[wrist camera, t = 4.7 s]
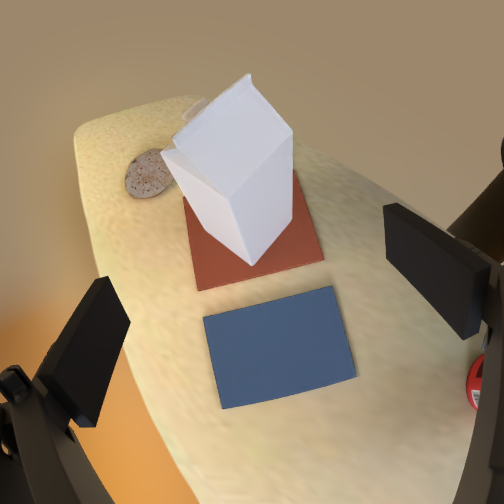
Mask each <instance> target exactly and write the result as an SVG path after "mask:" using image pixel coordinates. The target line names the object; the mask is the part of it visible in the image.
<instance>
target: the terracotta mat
mask: <svg viewBox="0 0 504 504" xmlns="http://www.w3.org/2000/svg"><path fill="white" fill-rule="evenodd" d="M183 201H184V209H185V215H186V222H187V229H188V235H189V242H190V248H191V254H192V260H193V266H194V272H195V278H196V284H197V289H198V291H201V290H206V289H210V288H214V287H218V286H222V285H226V284H230V283H235V282H239V281H243V280H247V279H251V278H255V277H259V276H263V275H267V274H271V273H275V272H279V271H283V270H287V269H291V268H295V267H299V266H303V265H306V264H310V263H314V262H318V261H322V260H324V258H323V254H322V251H321V248H320V245H319V242H318V239H317V236H316V233H315V229H314V226H313V223H312V220H311V217H310V214H309V211H308V208H307V206H306V203H305V200H304V197H303V194H302V191H301V188H300V185H299V182H298V180H297V177H296V174H295V171H294V169H293V197H292V220H291V222H290V223H289V224H288V225H287V227H286V228H285V229H284V230H283V231H282V232H281V234H280V235H279V236H278V237H277V238H276V240H275V241H274V242H273V243H272V244H271V246H270V247H269V248H268V249H267V250H266V251H265V253H264V254H263V255H262V256H261V257H260V259H259V260H258V261H257V262H256V263H255V264H254V265H253V266H251V265H249V264H248V263H247V262H245V261H244V260H243V259H242V258H240V257H239V256H238V255H236V254H235V253H234V252H232V251H231V250H230V249H229V248H227V247H226V246H225V245H223V244H222V243H221V242H220V241H218V240H217V239H216V238H214V237H213V236H212V235H211V234H209V233H208V232H207V231H206V230H205V229H204V228H203V226H202V224H201V223H200V221H199V219H198V218H197V216H196V214H195V213H194V211H193V209H192V207H191V206H190V204H189V202H188V201H187V199H186V197H185V196H184V197H183Z"/></svg>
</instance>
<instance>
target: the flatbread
mask: <svg viewBox="0 0 504 504" xmlns="http://www.w3.org/2000/svg"><path fill="white" fill-rule="evenodd" d="M162 150H163V149H151V150H148V151H146V152H144V153H143V154H141V155H139V156H138V157H136V158H135V159H134V160H133V161H132V162H131V164H130V166H129V168H128V170H127V173H126V177H125V187H126V190H127V191H128V192H129V194H130V196H131V197H132V198H134V199H138V198H148V197H153V196H156V195H158V194H159V193H161V192H162V191H163V190H164V189H165V188H167V187H168V186H169V184H170V183H171V182H172V180H173V179H174V177H173V175H172V174H171V172H170V170H169V168H168V167H167V165H166V163H165V161H164V160H163V158H162V156H161V154H160V152H161V151H162Z"/></svg>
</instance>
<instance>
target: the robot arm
mask: <svg viewBox="0 0 504 504" xmlns="http://www.w3.org/2000/svg"><path fill="white" fill-rule="evenodd" d="M383 214H384V227H385V243H386V259H387V260H388V261H389V262H390V263H391V264H392V265H393V266H394V267H395V268H396V269H397V270H398V271H399V272H400V273H401V274H402V275H403V276H404V277H405V278H406V279H407V280H408V281H409V282H410V283H411V284H412V285H413V286H414V287H415V288H416V289H417V290H418V291H419V292H420V294H421V295H422V296H423V297H424V298H425V299H426V300H427V301H428V302H429V303H430V304H431V305H432V306H433V307H434V309H435V310H436V311H437V312H438V313H439V314H440V315H441V316H442V317H443V318H444V320H445V321H446V322H447V323H448V324H449V325H450V326H451V327H452V329H453V330H454V331H455V332H456V333H457V334H458V335H459V337H460V338H461V339H462V340H465V339H467V338H469V337H471V336H473V335H475V334H477V333H479V329H480V325H481V320H483V321H484V322H485V323H486V324H487V325H488V327H487V330H486V334H485V338H484V341H483V345H482V348H481V349H484V348H485V353H484V365H483V374H482V383H481V390H480V397H479V403H478V409H477V415H476V420H475V425H474V430H473V435H472V439H471V444H470V448H469V452H468V456H467V459H466V463H465V467H464V470H463V474H462V477H461V480H460V483H459V487H458V490H457V493H456V495H455V498H454V501H453V504H504V265H503V266H502V265H501V264H499V263H498V262H496V261H495V260H494V259H492V258H491V257H489V256H488V255H487V254H485V253H484V252H483V253H482V251H481V250H479V249H478V248H475V246H473V245H472V244H470V243H469V242H467V241H465V240H462V239H459V238H453V237H451V236H450V235H448V234H447V233H445V232H444V231H442V230H440V229H439V228H437V227H436V226H434V225H433V224H431V223H429V222H428V221H426V220H425V219H423V218H422V217H420V216H418V215H417V214H415V213H413V212H412V211H410V210H408V209H407V208H405V207H403V206H402V205H400V204H398V203H393V204H388V205H384V206H383ZM130 323H131V322H130V320H129V318H128V316H127V314H126V312H125V310H124V308H123V306H122V304H121V302H120V300H119V298H118V296H117V294H116V292H115V289H114V287H113V285H112V283H111V281H110V279H109V277H108V276H106V277H102V278H98V279H95V280H94V282H93V283H92V285H91V286H90V288H89V289H88V291H87V292H86V294H85V295H84V297H83V299H82V300H81V302H80V303H79V305H78V306H77V308H76V309H75V311H74V313H73V314H72V316H71V318H70V319H69V321H68V322H67V324H66V325H65V327H64V329H63V330H62V332H61V334H60V335H59V337H58V339H57V340H56V342H54V343H53V345H51V347H50V349H49V351H48V352H47V355H46V356H45V358H44V359H43V362H42V363H41V365H40V367H39V368H38V370H37V372H36V374H35V376H34V378H33V379H32V381H31V380H30V379H29V378H28V376H27V375H26V374H25V373H24V371H23V370H22V368H21V367H20V366H19V365H12V366H10V367H8V368H6V369H5V370H4V371H2V372H1V374H0V392H1V393H2V395H3V396H4V397H5V398H6V399H7V401H8V402H5V403H2V404H1V403H0V504H115V503H114V501H113V500H112V498H111V497H110V495H109V494H108V492H107V490H106V489H105V487H104V485H103V484H102V482H101V481H100V479H99V477H98V476H97V474H96V472H95V470H94V469H93V467H92V465H91V463H90V461H89V460H88V458H87V456H86V454H85V452H84V450H83V448H82V447H81V445H80V443H79V441H78V439H77V437H76V435H75V433H74V431H73V430H72V428H71V427H70V426H69V425H68V424H69V422H70V419H71V418H72V419H73V421H74V422H75V423H76V424H77V425H78V426H79V427H83V428H84V427H96V424H97V421H98V417H99V414H100V411H101V408H102V405H103V401H104V398H105V395H106V392H107V389H108V386H109V383H110V380H111V377H112V374H113V371H114V368H115V365H116V362H117V359H118V356H119V353H120V350H121V348H122V345H123V342H124V339H125V337H126V334H127V331H128V328H129V326H130ZM1 443H2V444H3V445H4V446H5V447H6V448H7V449H8V455H7V454H6V453H5V452H4V451H3V449H2V445H1Z"/></svg>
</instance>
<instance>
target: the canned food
mask: <svg viewBox="0 0 504 504" xmlns="http://www.w3.org/2000/svg"><path fill="white" fill-rule="evenodd" d="M483 365H484V354H483V355H481V356H480V357H479V358H478V359H477V360H476V361H475V362H474V363H473V365H472V366H471V369H470V371H469V373H468V377H467V382H466V392H467V397H468V400H469V402H470V403H471V405H472V406H473V407H474V408H475V409H476V410H477V409H478V403H479V397H480V390H481V383H482V374H483Z"/></svg>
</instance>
